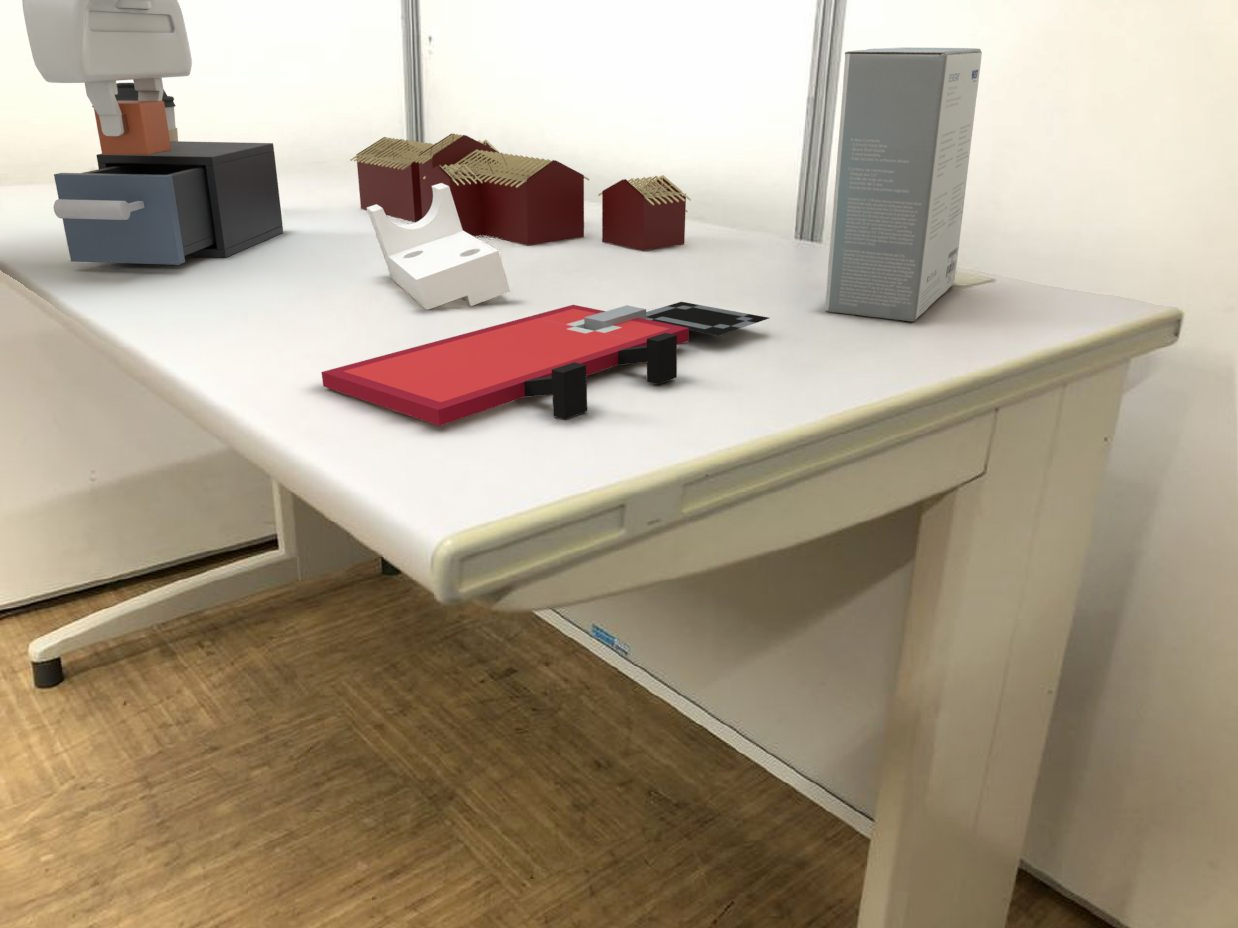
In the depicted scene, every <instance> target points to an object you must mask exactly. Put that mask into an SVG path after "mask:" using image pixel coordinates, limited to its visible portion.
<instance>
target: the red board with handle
mask: <svg viewBox="0 0 1238 928" xmlns="http://www.w3.org/2000/svg"><path fill="white" fill-rule="evenodd" d="M769 319H770V317H768V316H763V315H758V314H753V313H748V312H747V313H746V312H740V311H736V310H734V311H733V310H729V309H724V308H719V307H714V306H708V305H703V304H696V303H692V302H686V301H679V302H675V303H672V304H669V305H665V306H661V307H657V308H655V309H652V310H648V311H647V308H644V307H643V308H642V307H638V306H633V305H623V306H620V307H616V308H612V309H609V310H602V309H598V308H597V309H596V308H592V307H588V306H587V307H586V306H581V305H576V304H571V305H567V306H562V307H559V308H556V309H555V308H554V309H552V310H548V311H544V312H540V313H537V314H533V315H529V316H526V317H521V318H518V319H515V320H510V321H507V322H503V323H500V324H495V325H492V326H488V327H484V328H481V329H477V330H473V331H469V332H466V333H462V334H459V335H453V336H450V337H447V338H443V339H439V340H436V341H435V340H434V341H431V342H427V343H425V344H421V345H420V344H419V345H417V346H414V347H409V348H406V349H402V350H398V351H395V352H391V353H387V354H384V355H380V356H376V357H372V358H368V359H365V360H361V361H357V362H353V363H350V364H346V365H342V366H339V367H334V368H331V369H327V370H323V371H321V380H322V387H324V388H327V389H330V390H333V391H335V392H338V393H341V394H343V395H347V396H350V397H353V398H355V399H359V400H362V401H365V402H368V403H370V404H374V405H376V406H380V407H383V408H384V409H385V408H386V409H388V410H392V411H394V412H397V413H400V414H402V415H406V416H409V417H412V418H415V419H417V420H421V421H423V422H427V423H430V424H432V425H435V426H438V427H441V426H444V425H447V424H450V423H453V422H456V421H459V420H461V419H464V418H467V417H470V416H473V415H476V414H479V413H482V412H485V411H489V410H491V409H493V408H497V407H500V406H502V405H505V404H509V403H511V402H514V401H518V400H520V399H523V398H528V397H529V398H530V397H531V398H532V397H541V396H542V397H543V396H544V397H545V396H552V412H553V417H555V418H558V419H562V420H569V419H571V418H573V417H576V416H578V415H581V414H584V413H586V412H588V387H587V385H588V384H587V383H588V381H587V380H588V379H587V377H588V376H590V375H593V374H596V373H599V372H602V371H605V370H608V369H611V368H613V367H617V366H625V365H634V364H645V363H646V382H647V383H650V384H653V385H661V384H664V383H666V382H668V381H672V380H674V379H677V377H678V345H681V344H685V343H688V342H689V341H690V331H692V332H695V333H701V334H706V335H710V336H711V335H712V336H715V337H719V336H723V335H726V334H729V333H732V332H735V331H737V330H740V329H743V328H745V327H749V326H751V325H754V324H757V323H760V322H763V321H766V320H769Z"/></svg>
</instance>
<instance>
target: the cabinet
mask: <svg viewBox="0 0 1238 928" xmlns="http://www.w3.org/2000/svg"><path fill="white" fill-rule="evenodd" d="M170 144H171V150H170V151H165V152H160V153H155V154H150V155H121V154H102V153H98V154H96V161H97V167H98V169H103V168H108V167H113V166H118V165H122V164H165V165H206V172H207V179H208V186H209V193H210V200H211V208H212V215H213V222H214V229H215V236H216V243H215V244H213V245H210V246H208V247H205V248H203V249H200V250H198V251H195V252H193V253H190V254H188V255H185V256H184V257H186V258H187V257H189V258H191V257H192V258H195V257H196V258H222V259H223V258H228V257H230V256H232V255H235V254H237V253H239V252H242V251H244V250H246V249H249V248H251V247H253V246H255V245H258V244H260V243H262V242H266V241H267V240H270V239H272V238H274V237H277V236H278V235H280V234H283V233H284V227H283V225H284V224H283V216H282V207H281V199H280V191H279V181H278V172H277V165H276V164H277V163H276V156H275V148H274V147H275V146H274V143H273V142H232V141H230V142H229V141H227V142H226V141H179V140H178V141H170Z"/></svg>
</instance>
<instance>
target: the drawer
mask: <svg viewBox="0 0 1238 928" xmlns="http://www.w3.org/2000/svg"><path fill="white" fill-rule="evenodd" d="M53 176H54V177H53V178H54V182H55V187H56V188H55V189H56V194H57V198H58V199H56V200H55V201H54V203H53V212H54V214H55V216H56V217H57V218H59V219H62V223H63V228H64V229H63V230H64V234H65V239H66V243H67V249H68V255H69V259H70V262H73V263H107V264H142V265H174V266H178V265H181V264H184V263H186V258H185V257H186V256H185V255H188V254H190V253H193V252H195V251H198V250H200V249H203V248H205V247H208V246H210V245H213V244H215V243H216V236H215V229H214V222H213V215H212V208H211V200H210V193H209V186H208V179H207V172H206V165H165V164H122V165H118V166H113V167H108V168H103V169H99V168H98V169H93V170H89V171H83V172H57V173H54V174H53Z"/></svg>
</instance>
